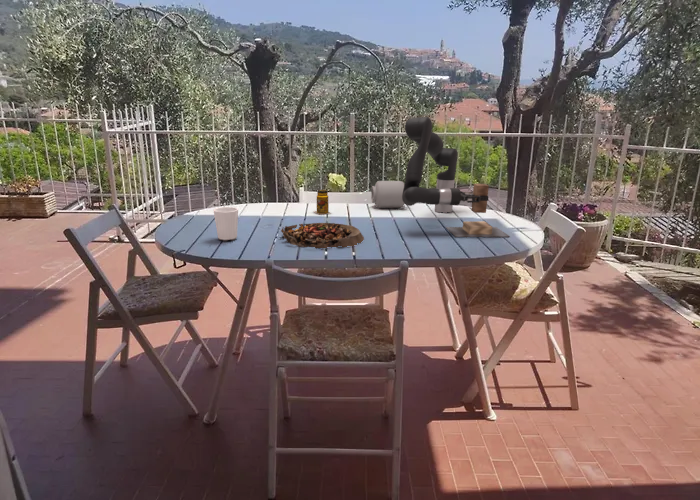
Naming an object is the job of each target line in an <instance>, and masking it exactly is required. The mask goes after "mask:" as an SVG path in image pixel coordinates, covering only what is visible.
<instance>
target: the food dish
mask: <svg viewBox="0 0 700 500" xmlns="http://www.w3.org/2000/svg"><path fill="white" fill-rule="evenodd" d="M298 226H299V227H298ZM297 227H298V228H297ZM280 232H281V233H282V235H283V238H284V239H285V241H284V242H286V243H288V244H290V245H292V246H295V247H296V246H297V247H298V248H299V247H301V248H313V247H315V248H314V249H317V248H327V247H336V248H339V247H338V246H342V247H341V248H344V247H347V246H353V247H355V246H354V245H357V243H360V244H362V243H363V242H364V241H365V237H364V236H363V234H362V231H360V230H359V228H357V227H355V226H353V225H351V224H350V225H348V224H345V223H344V224H343V223H336V222H335V223H334V222H313V223H304V224H303V223H299V225H298V224H292V225H289V226H287V225H286V226H282V229H280ZM363 240H364V241H363ZM362 241H363V242H362ZM361 242H362V243H361ZM357 246H358V245H357ZM347 248H348V247H347ZM327 249H328V248H327Z"/></svg>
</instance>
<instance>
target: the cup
mask: <svg viewBox="0 0 700 500" xmlns="http://www.w3.org/2000/svg"><path fill="white" fill-rule="evenodd" d="M213 217H214V220H215V226H216V233H217V239H218V241H223V242H228V241H232V242H233V241H235V240H237V238H238V225H239V224H238V221H239V208H237V207H233V206H221V207H217V208H214V209H213Z"/></svg>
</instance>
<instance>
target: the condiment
mask: <svg viewBox="0 0 700 500" xmlns="http://www.w3.org/2000/svg"><path fill="white" fill-rule="evenodd" d="M316 193H317V194H316V210H313V212H314V213H315V214H316V215H318V216H319V214H320V215H331V214H332V213H331V212H330V211H329V194H328V190H327V189H317V192H316Z"/></svg>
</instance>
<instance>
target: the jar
mask: <svg viewBox="0 0 700 500" xmlns="http://www.w3.org/2000/svg"><path fill="white" fill-rule="evenodd" d="M404 185H405V182H404V181H402V180H377V182H375V185H371V193H370V194H371V203H373V204H375V207H376V208H378V209H396V211H397V209H402V208H404V207H405V204H404V202H403V200H402V194H403V189H404ZM369 190H370V189H368V190H367V189H366V191H367V192H368V191H369ZM366 191H364V192H365V193H366ZM360 194H363V193H362V192H360ZM365 201H367V199H365Z"/></svg>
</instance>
